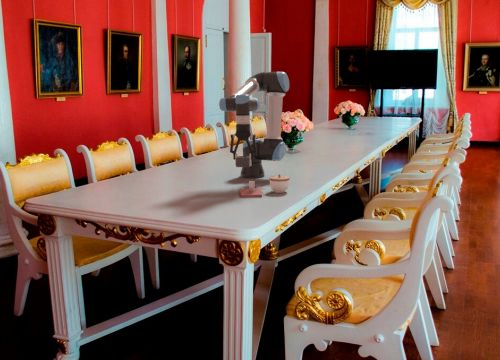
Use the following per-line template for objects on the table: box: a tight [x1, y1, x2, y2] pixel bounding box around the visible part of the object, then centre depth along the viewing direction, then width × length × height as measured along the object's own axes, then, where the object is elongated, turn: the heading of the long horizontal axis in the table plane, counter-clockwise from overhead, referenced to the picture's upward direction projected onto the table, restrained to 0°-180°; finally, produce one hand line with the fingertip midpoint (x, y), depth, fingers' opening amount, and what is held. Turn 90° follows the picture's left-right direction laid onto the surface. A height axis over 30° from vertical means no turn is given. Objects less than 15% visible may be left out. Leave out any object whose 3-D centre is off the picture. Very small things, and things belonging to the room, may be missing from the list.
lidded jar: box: [269, 173, 291, 194], centre depth 282 cm, size 11×11×9 cm
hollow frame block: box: [235, 155, 250, 168], centre depth 287 cm, size 8×7×5 cm
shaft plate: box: [240, 180, 263, 198], centre depth 277 cm, size 16×11×7 cm
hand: (243, 165), depth 288 cm, fingers closed on hollow frame block, 7 cm apart
